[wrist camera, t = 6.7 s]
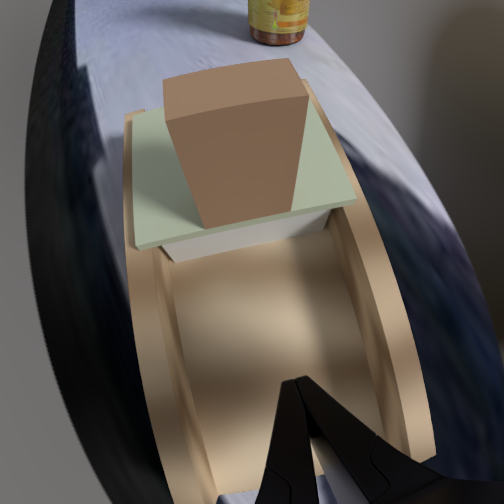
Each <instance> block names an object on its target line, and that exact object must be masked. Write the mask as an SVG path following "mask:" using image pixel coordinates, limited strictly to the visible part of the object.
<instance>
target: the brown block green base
mask: <svg viewBox="0 0 504 504" xmlns="http://www.w3.org/2000/svg"><path fill="white" fill-rule="evenodd" d="M163 97H164V107H161V108H157V109H154V110H150V111H147V112H143V113H140V114H136V115H133V125H132V189H133V214H134V232H135V246H136V247H137V248H138V249H139V250H144V249H149V248H153V247H157V246H161V245H166V244H170V243H174V242H179V241H183V240H187V239H192V238H196V237H201V236H205V235H210V234H214V233H218V232H223V231H228V230H232V229H237V228H241V227H246V226H251V225H255V224H260V223H265V222H269V221H274V220H279V219H284V218H289V217H293V216H298V215H303V214H308V213H313V212H318V211H323V210H328V209H333V208H338V207H343V206H348V205H354V203H355V202H356V200H357V197H356V195H355V192H354V190H353V188H352V185H351V183H350V181H349V178H348V176H347V174H346V171H345V169H344V167H343V165H342V163H341V160H340V158H339V156H338V154H337V152H336V150H335V147H334V145H333V143H332V141H331V139H330V137H329V135H328V133H327V131H326V129H325V127H324V125H323V123H322V121H321V119H320V117H319V115H318V113H317V111H316V109H315V107H314V105H313V103H312V101H311V100H310V98H309V94H308V92H307V90H306V88H305V86H304V85H303V83H302V81H301V79H300V77H299V76H298V74H297V72H296V70H295V69H294V67H293V65H292V64H291V62H290V60H289V58H284V59H274V60H265V61H257V62H249V63H242V64H236V65H230V66H224V67H218V68H213V69H208V70H203V71H198V72H193V73H189V74H184V75H180V76H176V77H172V78H168V79H164V80H163Z"/></svg>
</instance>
